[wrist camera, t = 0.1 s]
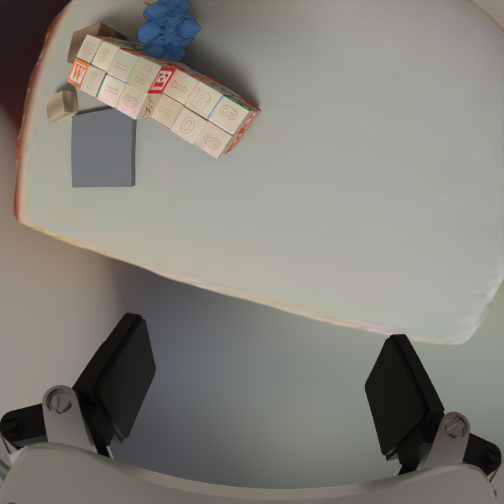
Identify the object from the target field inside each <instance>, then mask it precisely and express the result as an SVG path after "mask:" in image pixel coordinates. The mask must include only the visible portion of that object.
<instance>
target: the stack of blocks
mask: <svg viewBox="0 0 504 504" xmlns="http://www.w3.org/2000/svg"><path fill="white" fill-rule="evenodd" d="M144 46H145V44H143V43H138V42H134V41H127V40H121V39H117V38H112V37H105V36H98V35H90V34H87V35H86V37H85V39H84V41H83V43H82V46H81V48H80V50H79V52H78V54H77V56H76V57H77V58H76V59H75V61H74V63H73V66H72V68H71V71H70V73H69V76H68V79H67V82H69V83H71V84H73V85H75V86H77V87H78V88H80V89H81V90H82V91H84V92H86V93H88V94H90V95H92V96H94V97H97V99H98V100H100V101H102V102H104V103H106V104H107V105H109V106H111V107H113V108H116V109H117V110H119V111H121V112H122V113H124V114H126V115H128V116H129V117H131V118H133V119H135V120H136V119H141V118H147V117H151V118H153V119H154V120H156V121H158V122H159V123H161V124H163V125H164V126H166V127H167V128H169V129H171V131H172V132H174V133H175V134H177V135H179V136H180V137H182V138H183V139H185V140H186V141H188V142H190V143H191V144H195V145H196V146H197V147H199V148H200V149H202V150H204V151H205V152H206V153H208V154H210V155H211V156H212V157H214V158H216V159H217V158H219V157H221V156H222V155H224V154H226V153H227V152H229V151H230V150H232V149H233V148H234V147H236V146H237V144H238V143H239V141H240V140H241V139H242V137H243V136H244V134H245V133H246V131H247V130H248V129H249V127H250V126H251V125H252V124H253V122H254V121H255V119H256V118H257V117H258V115H259V114H260V112H261V110H260V109H259V108H257V107H256V106H254V105H253V104H251V103H250V102H248V101H246V100H245V99H243V98H242V97H241V96H240V95H238V94H237V93H235V92H233V91H232V90H230V89H228V88H227V87H225V86H223V85H222V84H220V83H219V82H217V81H215V80H213V79H212V78H210V77H208V76H206V75H203V74H202V73H200V72H198V71H196V70H194V69H193V68H191V67H189V66H187V65H185V64H183V63H181V62H170V61H166V60H164V59H162V58H161V59H156V58H152V57H149V56H147V55H144V54H142V53H141V50H142V49H143V48H144Z"/></svg>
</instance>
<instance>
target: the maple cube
mask: <svg viewBox="0 0 504 504" xmlns="http://www.w3.org/2000/svg"><path fill="white" fill-rule="evenodd" d="M46 104H47V114H48V122H64V121H65V120H67V119H69V118H70V117H72V116H74V115H76V114H77V113H79V107H78V99H77V92H73V91H66V90H62V91H60V92H59V93H57V94H56V95H54V96H53V97H51V98H50V99H49V100H47V101H46Z"/></svg>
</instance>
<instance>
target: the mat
mask: <svg viewBox="0 0 504 504" xmlns="http://www.w3.org/2000/svg"><path fill="white" fill-rule="evenodd" d="M135 140H136V120H135V119H133V118H131V117H129V116H128V115H126V114H124V113H122V112H121V111H119V110H117V109H116V108H113V109H107V110H101V111H95V112H90V113H85V114H80V115H75V116H73V117H72V142H71V162H72V187H132V186H134V185H135Z"/></svg>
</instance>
